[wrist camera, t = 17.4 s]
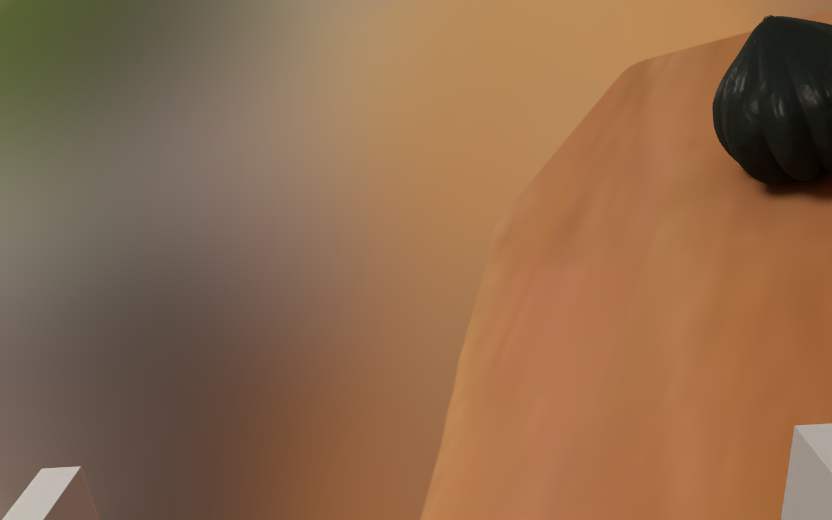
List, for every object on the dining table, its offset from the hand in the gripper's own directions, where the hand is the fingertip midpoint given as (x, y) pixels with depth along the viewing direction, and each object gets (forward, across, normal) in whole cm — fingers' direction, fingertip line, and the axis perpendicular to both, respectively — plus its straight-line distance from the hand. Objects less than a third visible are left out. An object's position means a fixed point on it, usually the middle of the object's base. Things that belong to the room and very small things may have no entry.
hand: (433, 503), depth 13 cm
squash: (+56, +35, -11) cm, 67 cm away
